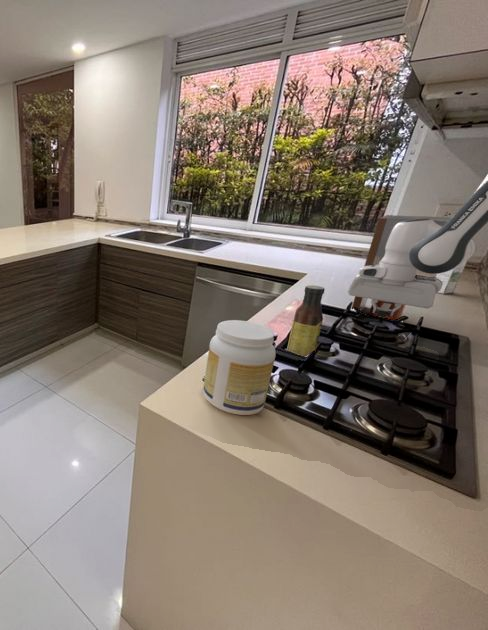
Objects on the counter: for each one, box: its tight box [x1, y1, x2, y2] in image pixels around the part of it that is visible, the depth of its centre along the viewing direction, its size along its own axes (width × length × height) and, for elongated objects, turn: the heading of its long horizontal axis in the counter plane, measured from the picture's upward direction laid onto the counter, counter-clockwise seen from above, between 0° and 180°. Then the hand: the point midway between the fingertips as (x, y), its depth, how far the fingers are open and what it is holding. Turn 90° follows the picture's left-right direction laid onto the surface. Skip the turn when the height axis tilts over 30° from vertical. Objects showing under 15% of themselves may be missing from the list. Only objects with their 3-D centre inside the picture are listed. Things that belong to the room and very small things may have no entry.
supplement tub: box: [202, 319, 277, 416], centre depth 71 cm, size 12×12×17 cm
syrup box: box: [433, 260, 468, 295], centre depth 145 cm, size 6×6×14 cm
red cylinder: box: [368, 300, 406, 321], centre depth 115 cm, size 8×21×7 cm, turn 133°
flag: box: [351, 214, 452, 311], centre depth 114 cm, size 17×18×34 cm
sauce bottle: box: [286, 285, 326, 356], centre depth 88 cm, size 6×6×20 cm
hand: (382, 314), depth 109 cm, fingers closed on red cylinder
